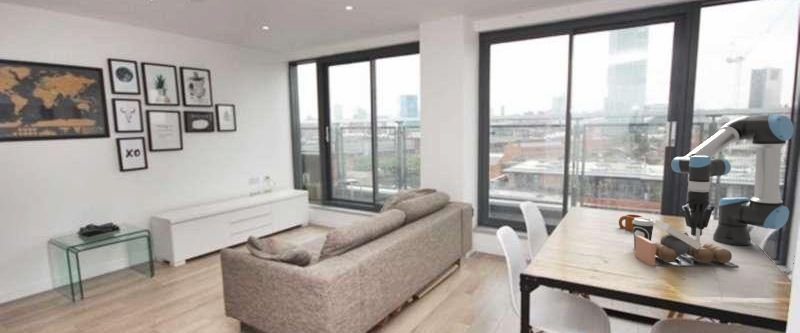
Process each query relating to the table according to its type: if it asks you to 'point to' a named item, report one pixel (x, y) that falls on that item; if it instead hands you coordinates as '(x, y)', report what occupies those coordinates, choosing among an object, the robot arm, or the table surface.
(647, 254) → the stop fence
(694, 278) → the table surface
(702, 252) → the roller
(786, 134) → the robot arm
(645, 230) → the coffee cup
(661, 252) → the roller
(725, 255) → the roller
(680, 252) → the roller
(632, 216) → the mug
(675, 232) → the slab
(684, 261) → the roller bed
